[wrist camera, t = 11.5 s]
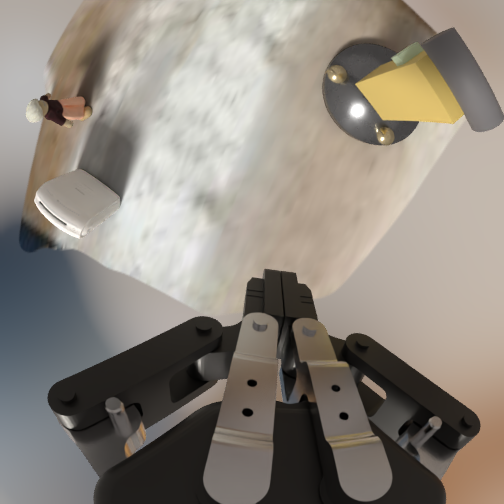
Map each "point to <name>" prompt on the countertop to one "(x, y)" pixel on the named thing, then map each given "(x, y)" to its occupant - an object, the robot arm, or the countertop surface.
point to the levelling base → (360, 96)
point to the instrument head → (433, 85)
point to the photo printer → (76, 202)
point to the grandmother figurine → (58, 110)
